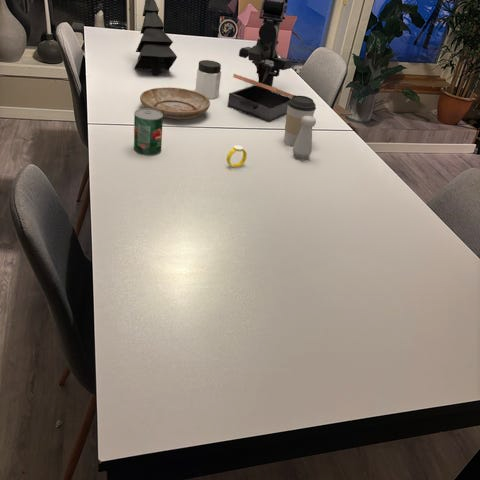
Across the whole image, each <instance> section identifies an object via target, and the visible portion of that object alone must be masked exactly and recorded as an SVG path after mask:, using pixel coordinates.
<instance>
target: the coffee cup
mask: <svg viewBox="0 0 480 480" xmlns="http://www.w3.org/2000/svg"><path fill="white" fill-rule="evenodd" d="M292 95H293V97H292V98H291V99H290V100H289V102H288V103H287V104H288V109H287V114H286V115H285V123H284V124H285V125H284V126H285V127H284V130H285V131H284V136H283V143H284V144H285V145H286V146H289V147H292V148H293V146H294V144H295V142H296V139H297V137H298V134H299V132H300V129H301V127H302V124H301V119H302V117H303V116H312V117H314V114H315V111H316V109H317V106H316V103H315V102H314V99H313V98H311V97H310V96H305V95H296V94H292Z"/></svg>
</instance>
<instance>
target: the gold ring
mask: <svg viewBox="0 0 480 480" xmlns="http://www.w3.org/2000/svg"><path fill="white" fill-rule="evenodd" d="M236 152H242V158H241V160H240V161H239V162H238V163H232V162H231V158H232V156H233V155H234V153H236ZM247 156H248V155H247V152H246V149H244V147H243V146H242V145H239V144H237V145H234V146H233V148H231V150H230V151H229V152H228V153H227V155H226V162H227V164H228V165H229V166H230V167H232V168H236V167H242V166H243V165H244V164H245V162H246V160H247ZM231 163H232V164H231Z"/></svg>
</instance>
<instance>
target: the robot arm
mask: <svg viewBox="0 0 480 480" xmlns="http://www.w3.org/2000/svg"><path fill="white" fill-rule="evenodd" d="M288 2H289V0H262V3H261V7H260V13H259V17H258V19H261V20H262V24H261V26H260V27H259V29H258V37H259V38H257V40H256V43H255V45H253V46H252V47H250V46H245V47H241V48H240V49H239V51H238V57H239V58H244V59H247V58H248V61H251V63H252V64H253V65H254V66H255V68H256V72H255V74H257V76H258V81H257V82H259V83H262V84H265V85H268V86H271V87H273V84H274V79H275V77H276V78H277V77H279V76H280V72H281V71H286V70H290V69H292V66H293V62H292V59H289V58H287V57H283V56H282V57H280V55H279V53H278V50H277V45H279V40H278V39H279V33H280V29H281V28H280V26H281V23H283V20H286V16H287V10H288V5H287V4H288ZM257 87H258V86H257ZM260 88H261V87H260ZM263 89H264V88H263ZM266 90H267V89H266ZM269 91H270V90H269Z"/></svg>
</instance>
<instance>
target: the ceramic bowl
mask: <svg viewBox="0 0 480 480" xmlns="http://www.w3.org/2000/svg"><path fill="white" fill-rule="evenodd" d="M139 99H140V103H141V105H142V106H143V107H144V109H145V108H147V109H155V110H158V111H160V112H161V113H162V114H163V118H166V119H172V120H189V119H193V118H197V117H200V116H202V115H203V114H205V113H206V112H207V111H208V110H209V109H210V106H211V101H210V99H208V98H207V97H205V96H204V95H202V94H200V93H198V92H195V90H191V89H186V88H182V87H181V88H180V87H169V86H168V87H155V88H154V87H153V88H151V89H147V90H145V91H143V92H142V93H141V94H140V97H139Z"/></svg>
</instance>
